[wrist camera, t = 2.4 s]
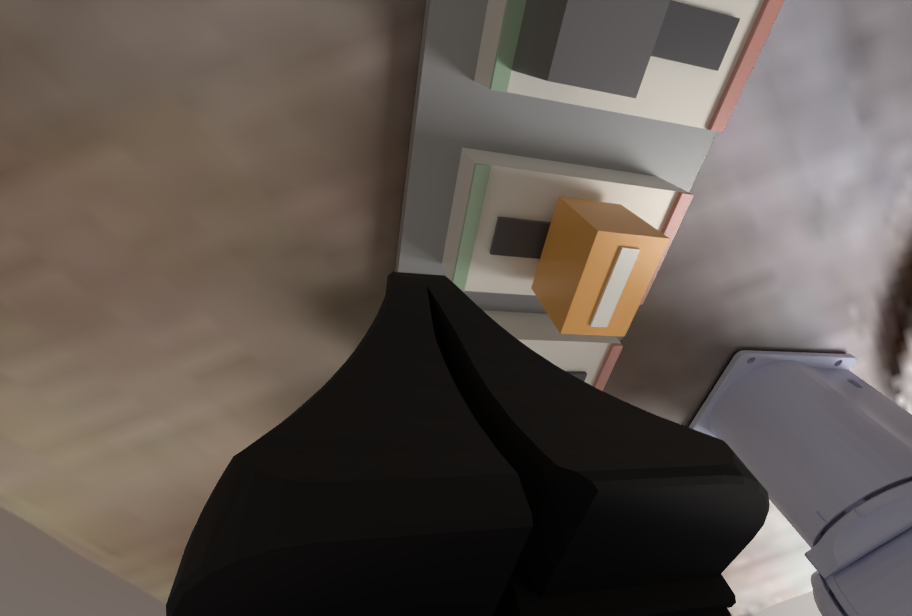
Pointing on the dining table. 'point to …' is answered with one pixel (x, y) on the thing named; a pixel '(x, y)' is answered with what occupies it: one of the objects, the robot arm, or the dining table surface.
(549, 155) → the breaker board
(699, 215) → the dining table surface
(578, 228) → the handle
